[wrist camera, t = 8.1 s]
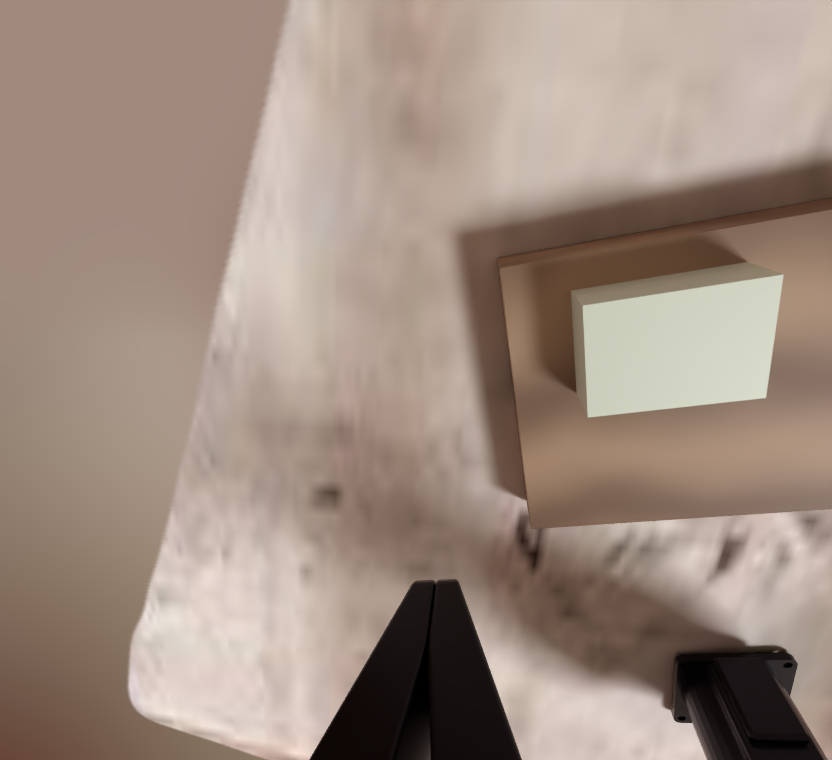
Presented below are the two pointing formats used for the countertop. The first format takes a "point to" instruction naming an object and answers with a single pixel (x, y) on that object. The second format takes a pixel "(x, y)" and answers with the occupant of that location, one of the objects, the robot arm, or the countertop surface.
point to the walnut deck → (686, 426)
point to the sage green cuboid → (675, 339)
